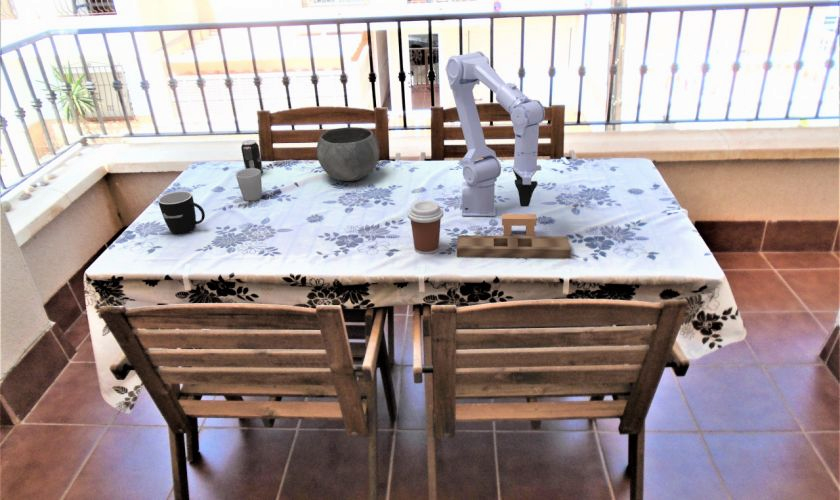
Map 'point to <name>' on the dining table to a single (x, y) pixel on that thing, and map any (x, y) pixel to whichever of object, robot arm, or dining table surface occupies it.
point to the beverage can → (251, 155)
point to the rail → (513, 246)
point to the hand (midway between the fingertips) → (523, 199)
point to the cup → (250, 183)
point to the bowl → (348, 153)
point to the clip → (519, 223)
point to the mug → (180, 211)
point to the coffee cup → (425, 226)
